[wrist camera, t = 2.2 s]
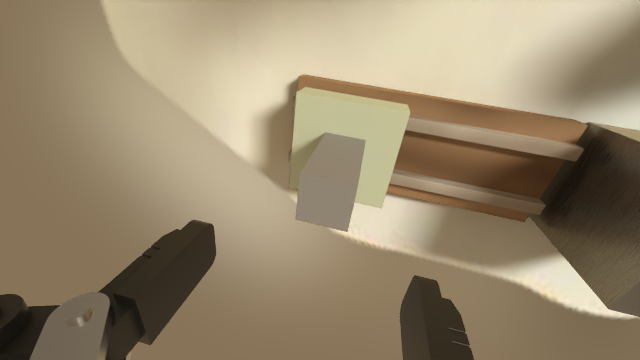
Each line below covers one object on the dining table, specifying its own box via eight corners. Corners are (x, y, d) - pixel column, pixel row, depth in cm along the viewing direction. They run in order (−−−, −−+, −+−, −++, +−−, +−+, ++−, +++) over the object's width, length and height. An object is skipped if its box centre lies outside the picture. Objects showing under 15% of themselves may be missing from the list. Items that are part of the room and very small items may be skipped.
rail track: (303, 74, 23) (294, 77, 21) (574, 119, 20) (598, 129, 18) (295, 165, 27) (287, 175, 25) (516, 212, 24) (529, 228, 22)
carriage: (305, 87, 20) (254, 116, 12) (407, 104, 19) (426, 149, 11) (297, 174, 24) (254, 241, 16) (381, 193, 23) (381, 274, 15)
